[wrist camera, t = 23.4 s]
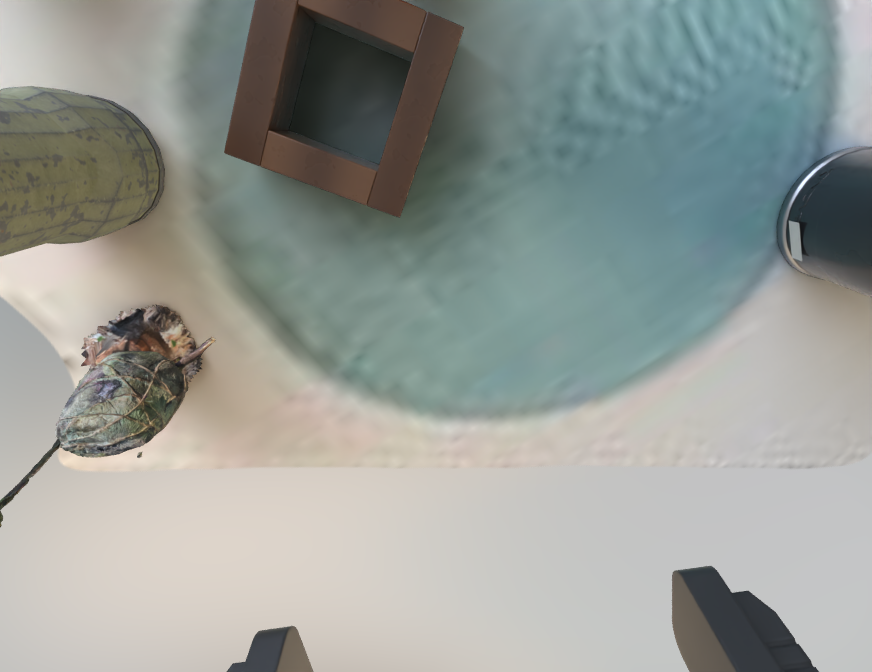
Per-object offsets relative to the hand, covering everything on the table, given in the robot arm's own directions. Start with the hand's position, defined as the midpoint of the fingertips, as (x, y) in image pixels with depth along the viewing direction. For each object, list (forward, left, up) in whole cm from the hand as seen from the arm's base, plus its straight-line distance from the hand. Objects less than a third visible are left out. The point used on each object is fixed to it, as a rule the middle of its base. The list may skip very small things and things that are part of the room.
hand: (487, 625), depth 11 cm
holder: (+10, -9, -30) cm, 33 cm away
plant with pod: (+19, +14, -30) cm, 38 cm away
